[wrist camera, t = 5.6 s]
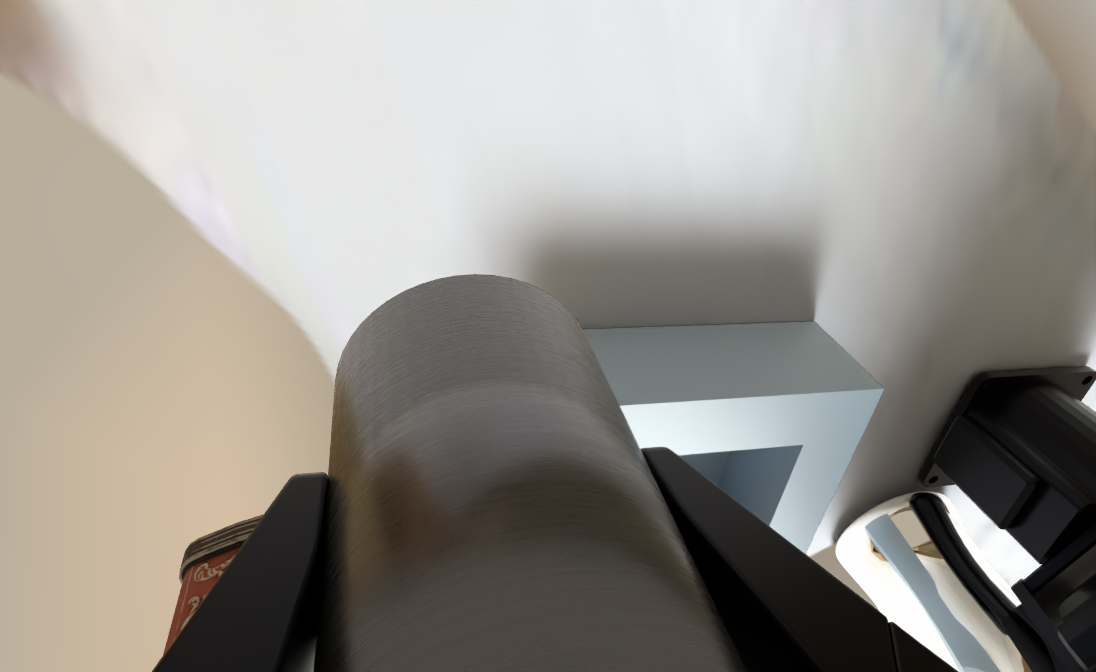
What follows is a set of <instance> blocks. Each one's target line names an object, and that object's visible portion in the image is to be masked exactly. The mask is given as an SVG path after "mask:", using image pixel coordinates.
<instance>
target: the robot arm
mask: <svg viewBox="0 0 1096 672" xmlns="http://www.w3.org/2000/svg"><path fill="white" fill-rule="evenodd" d="M1095 380H1096V371H1094V370H1093V369H1091V368H1090V367H1088V366H1077V367H1060V368H1044V369H1027V370H1010V371H994V372H983V373H981V374H979V375H977V376H976V377H975V378H974V379H973V380H972V381H971V383H970V384H969V386H968V388H967V390H966V392H965V393H964V395H963V397H962V399H961V400H960V402H959V404H958V406H957V408H956V409H955V411H954V413H953V415H952V416H951V418H950V420H949V422H948V424H947V425H946V427H945V429H944V431H943V432H942V434H941V436H940V438H939V440H938V441H937V443H936V445H935V447H934V448H933V450H932V452H931V454H930V455H929V457H928V459H927V461H926V463H925V464H924V466H923V468H922V470H921V471H920V473H919V475H918V480H919V481H920V482H921V483H922V484H923V485H924V486H925V487H937V486H946V485H955V484H956V485H957V486H958V487H959V488H960V489H961V490H962V491H963V492H964V493H965V494H966V495H967V496H968V497H969V498H970V499H971V500H972V501H973V502H974V503H975V504H976V505H977V506H978V507H979V508H980V509H981V510H982V512H983V513H984V514H985V515H986V516H987V517H988V518H989V519H990V520H991V521H992V522H993V523H994V524H995V525H996V526H997V527H999V528H1000V529H1005V530H1006V531H1007V532H1008V533H1009V534H1010V535H1011V536H1012V537H1013V538H1014V539H1015V540H1016V541H1017V542H1018V543H1019V544H1020V545H1021V546H1022V547H1023V548H1024V549H1025V550H1026V551H1027V552H1028V553H1029V554H1030V555H1031V556H1032V557H1033V558H1034V559H1035V560H1036V561H1037V562H1038V563H1039V564H1042V565H1041V566H1040V567H1039V568H1038V569H1036V570H1035V571H1034V572H1033V573H1032V574H1030V575H1029V576H1028V577H1027V578H1025V579H1024V580H1023V579H1020V580H1019V581H1018V582H1016V583H1015V584H1014V585H1013V586H1012V587H1011V589H1012V591H1013V592H1014V594H1015V595H1016V596H1017V598H1018V599H1019V601H1020V602H1021V603H1022V608H1023V610H1024V611H1025V612H1026V614H1027V615H1028V617H1029V618H1030V619H1031V621H1032V622H1033V623H1034V625H1035V626H1036V628H1037V629H1038V630H1039V632H1040V633H1041V635H1042V636H1043V637H1044V639H1045V640H1046V641H1047V643H1048V644H1049V646H1050V647H1051V648H1052V650H1053V651H1054V652H1055V654H1056V655H1057V657H1058V658H1059V659H1060V661H1061V662H1062V663H1063V665H1064V666H1065V668H1066V669H1067V670H1068V672H1096V412H1095V411H1094V410H1092V409H1091V408H1089V407H1088V406H1087V405H1085V404H1084V403H1082V402H1081V400H1082V399H1083V398H1084V396H1085V395H1086V393H1087V392H1088V390H1089V389H1090V387H1091V386H1092V385H1093V383H1094V382H1095ZM641 451H642V453H643V456H644V458H645V460H646V462H647V464H648V466H649V468H650V470H651V472H652V474H653V476H654V478H655V481H656V483H657V485H658V487H659V489H660V491H661V493H662V495H663V497H664V499H665V501H666V503H667V506H668V508H669V510H670V512H671V514H672V516H673V518H674V520H675V522H676V524H677V526H678V529H679V531H680V533H681V535H682V537H683V539H684V541H685V543H686V545H687V547H688V549H689V551H690V554H691V556H692V558H693V560H694V562H695V564H696V566H697V568H698V570H699V572H700V574H701V576H702V579H703V581H704V583H705V585H706V587H707V589H708V591H709V593H710V595H711V597H712V599H713V601H714V604H715V606H716V608H717V610H718V612H719V614H720V616H721V618H722V620H723V622H724V624H725V626H726V629H727V631H728V633H729V635H730V637H731V639H732V641H733V643H734V645H735V647H736V649H737V652H738V654H739V656H740V658H741V660H742V662H743V664H744V666H745V668H746V670H747V672H959V671H957V670H956V669H955V668H953V667H952V666H951V665H949V664H948V663H947V662H945V661H944V660H943V659H941V658H940V657H939V656H937V655H936V654H935V653H933V652H932V651H930V650H929V649H928V648H926V647H925V646H924V645H922V644H921V643H920V642H919V641H917V640H916V639H915V638H913V637H912V636H911V635H910V634H908V633H907V632H906V631H904V630H903V629H902V628H900V627H899V626H898V625H897V624H895V623H894V622H889V623H888V619H887V617H886V616H885V615H883V614H882V613H881V612H880V611H878V610H877V609H875V608H874V607H873V606H872V605H871V604H869V603H868V602H867V601H865V600H864V599H863V598H861V597H860V596H859V595H858V594H856V593H855V592H854V591H852V590H851V589H850V588H849V587H847V586H846V585H844V584H843V583H842V582H841V581H840V580H838V579H837V578H836V577H834V576H833V575H832V574H830V573H829V572H828V571H827V570H825V569H824V568H823V567H821V566H820V565H819V564H818V563H816V562H815V561H814V560H812V559H811V558H810V557H809V556H807V555H806V554H805V553H803V552H802V551H801V550H800V549H798V548H797V547H796V546H794V545H793V544H792V543H791V542H789V541H788V540H787V539H785V538H784V537H783V536H782V535H780V534H779V533H778V532H776V531H775V530H774V529H772V528H771V527H770V526H769V525H767V524H766V523H765V522H763V521H762V520H761V519H760V518H758V517H757V516H756V515H754V514H753V513H752V512H751V511H749V510H748V509H747V508H745V507H744V506H743V505H742V504H740V503H739V502H738V501H736V500H735V499H734V498H733V497H731V496H730V495H729V494H727V493H726V492H725V491H723V490H722V489H721V488H720V487H718V486H717V485H716V484H714V483H713V482H712V481H711V480H709V479H708V478H707V477H705V476H704V475H703V474H702V473H700V472H699V471H698V470H696V469H695V468H694V467H693V466H691V465H690V464H689V463H687V462H686V461H685V460H684V459H682V458H681V457H680V456H678V455H677V454H676V453H674V452H673V451H672V450H670V449H669V448H667V447H650V448H641ZM328 482H329V477H328V475H327V474H326V473H324V472H320V473H307V474H296V475H294V476H292V477H291V478H290V479H289V480H288V482H287V483H286V484H285V486H284V487H283V489H282V490H281V491H280V493H279V494H278V496H277V497H276V499H275V500H274V501H273V503H272V504H271V505H270V507H269V508H268V510H267V511H266V512H265V514H264V515H263V517H262V518H261V519H260V521H259V522H258V524H257V525H256V526H255V528H254V529H253V531H252V532H251V533H250V535H249V536H248V538H247V539H246V540H245V542H244V543H243V545H242V546H241V547H240V549H239V550H238V552H237V553H236V554H235V556H234V557H233V559H232V560H231V561H230V563H229V564H228V566H227V567H226V568H225V570H224V571H223V573H222V574H221V575H220V577H219V578H218V580H217V581H216V582H215V584H214V585H213V587H212V588H211V589H210V591H209V592H208V594H207V595H206V596H205V598H204V599H203V601H202V602H201V603H200V605H199V606H198V608H197V609H196V610H195V612H194V613H193V615H192V616H191V617H190V619H189V620H188V622H187V623H186V624H185V626H184V627H183V629H182V630H181V631H180V633H179V634H178V636H177V637H176V638H175V640H174V641H173V643H172V644H171V645H170V647H169V648H168V650H167V651H166V652H165V654H164V655H163V657H162V658H161V659H160V661H159V662H158V664H157V665H156V667H155V668H154V669H153V671H152V672H313V670H314V657H315V644H316V631H317V617H318V604H319V593H320V584H321V574H322V563H323V550H324V536H325V523H326V509H327V496H328Z"/></svg>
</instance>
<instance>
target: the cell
mask: <svg viewBox="0 0 1096 672" xmlns="http://www.w3.org/2000/svg"><path fill="white" fill-rule="evenodd" d="M328 477H329V482H328V496H327V509H326V523H325V536H324V550H323V563H322V574H321V584H320V593H319V604H318V617H317V631H316V644H315V657H314V670H313V672H747V670H746V668H745V666H744V664H743V662H742V660H741V658H740V656H739V654H738V652H737V649H736V647H735V645H734V643H733V641H732V639H731V637H730V635H729V633H728V631H727V629H726V626H725V624H724V622H723V620H722V618H721V616H720V614H719V612H718V610H717V608H716V606H715V604H714V601H713V599H712V597H711V595H710V593H709V591H708V589H707V587H706V585H705V583H704V581H703V579H702V576H701V574H700V572H699V570H698V568H697V566H696V564H695V562H694V560H693V558H692V556H691V554H690V551H689V549H688V547H687V545H686V543H685V541H684V539H683V537H682V535H681V533H680V531H679V529H678V526H677V524H676V522H675V520H674V518H673V516H672V514H671V512H670V510H669V508H668V506H667V503H666V501H665V499H664V497H663V495H662V493H661V491H660V489H659V487H658V485H657V483H656V481H655V478H654V476H653V474H652V472H651V470H650V468H649V466H648V464H647V462H646V460H645V458H644V456H643V453H642V451H641V449H640V447H639V445H638V443H637V441H636V439H635V437H634V435H633V433H632V431H631V428H630V426H629V424H628V422H627V420H626V418H625V416H624V414H623V412H622V410H621V408H620V405H619V403H618V401H617V399H616V397H615V395H614V393H613V391H612V389H611V387H610V385H609V383H608V380H607V378H606V376H605V374H604V372H603V370H602V368H601V366H600V364H599V362H598V360H597V358H596V355H595V353H594V351H593V349H592V347H591V345H590V343H589V341H588V339H587V337H586V335H585V333H584V331H583V329H582V327H581V326H580V324H579V322H578V321H577V319H576V318H575V317H574V316H573V314H572V313H571V312H570V311H569V310H568V309H567V308H566V307H565V306H564V305H563V304H562V303H560V302H559V301H558V300H557V299H556V298H554V297H553V296H551V295H549V294H548V293H546V292H545V291H543V290H541V289H539V288H537V287H534V286H532V285H530V284H528V283H525V282H521V281H518V280H515V279H512V278H506V277H500V276H495V275H477V274H474V275H458V276H452V277H446V278H441V279H436V280H433V281H430V282H426V283H423V284H420V285H417V286H415V287H413V288H411V289H408V290H406V291H404V292H402V293H400V294H398V295H397V296H395V297H393V298H391V299H390V300H388V301H386V302H385V303H384V304H383V305H381V306H380V307H379V308H377V309H376V310H375V311H373V312H372V313H371V314H370V315H369V316H368V317H367V318H366V319H365V320H364V321H363V322H362V323H361V324H360V326H359V327H358V328H357V330H356V331H355V332H354V334H353V335H352V336H351V338H350V339H349V341H348V343H347V345H346V347H345V349H344V350H343V353H342V356H341V358H340V361H339V364H338V368H337V374H336V380H335V392H334V405H333V419H332V432H331V446H330V460H329V472H328Z"/></svg>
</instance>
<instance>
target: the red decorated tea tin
mask: <svg viewBox="0 0 1096 672" xmlns="http://www.w3.org/2000/svg"><path fill="white" fill-rule="evenodd" d="M262 517H263V515H261V516H258V517H254V518H251V519H248V520H244V521H241V522H238V523H235V524H233V525H230V526H228V527H225V528H223V529H221V530H218V531H216V532H213V533H211V534H208V535H206V536H203V537H201V538H198V539H197V540H195V541H194V542H192V543H191V544H190V545H189V546H188V548H187V549H186V551H185V554H184V558H183V561H182V565H181V569H180V575H179V579H180V582H181V584H182V587H181V590H180V594H179V598H178V602H177V605H176V609H175V613H174V617H173V620H172V624H171V628H170V632H169V636H168V640H167V643H166V647H165V651H164V654H165V652H166V651H167V650H168V648H169V647H170V645H171V644H172V643H173V641H174V640H175V638H176V637H177V636H178V634H179V633H180V631H181V630H182V629H183V627H184V626H185V624H186V623H187V622H188V620H189V619H190V617H191V616H192V615H193V613H194V612H195V610H196V609H197V608H198V606H199V605H200V603H201V602H202V601H203V599H204V598H205V596H206V595H207V594H208V592H209V591H210V589H211V588H212V587H213V585H214V584H215V582H216V581H217V580H218V578H219V577H220V575H221V574H222V573H223V571H224V570H225V568H226V567H227V566H228V564H229V563H230V561H231V560H232V559H233V557H234V556H235V554H236V553H237V552H238V550H239V549H240V547H241V546H242V545H243V543H244V542H245V540H246V539H247V538H248V536H249V535H250V533H251V532H252V531H253V529H254V528H255V526H256V525H257V524H258V522H259V521H260V519H261V518H262ZM164 654H163V655H164Z"/></svg>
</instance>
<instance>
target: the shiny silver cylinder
mask: <svg viewBox="0 0 1096 672" xmlns="http://www.w3.org/2000/svg"><path fill="white" fill-rule="evenodd" d="M835 552H836V556H837V558H838V560H839V561H840V563H841V564H842V566H843V567H844V568H845V569H846V570H847V571H848V573H849V574H850V575H851V576H852V577H853V578H854V579H855V581H856V582H857V583H858V584H859V585H860V586H861V587H862V589H863V590H864V591H865V592H866V593H867V595H868V596H869V597H870V598H871V600H872V601H873V602H874V603H875V605H876V606H877V607H878V609H879V611H880V612H881V613H882V614H883V615H885V616H886V617H887V619H888V623H889V622H894V623H895V624H897V625H898V626H899V627H900V628H902V629H903V630H904V631H906V632H907V633H908V634H910V635H911V636H912V637H913V638H915V639H916V640H917V641H919V642H920V643H921V644H922V645H924V646H925V647H926V648H928V649H929V650H930V651H932V652H933V653H935V654H936V655H937V656H939V657H940V658H941V659H943V660H944V661H945V662H947V663H948V664H949V665H951V666H952V667H953V668H955V669H956V670H957V671H959V672H1068V670H1067V669H1066V668H1065V666H1064V665H1063V663H1062V662H1061V661H1060V659H1059V658H1058V657H1057V655H1056V654H1055V652H1054V651H1053V650H1052V648H1051V647H1050V646H1049V644H1048V643H1047V641H1046V640H1045V639H1044V637H1043V636H1042V635H1041V633H1040V632H1039V630H1038V629H1037V628H1036V626H1035V625H1034V623H1033V622H1032V621H1031V619H1030V618H1029V617H1028V615H1027V614H1026V612H1025V611H1024V610H1023V608H1022V603H1021V602H1020V601H1019V599H1018V598H1017V596H1016V595H1015V594H1014V592H1013V591H1012V589H1011V587H1010V586H1009V585H1008V584H1007V583H1006V582H1005V581H1004V580H1003V579H1002V578H1001V576H1000V575H999V574H998V573H997V572H996V571H995V570H994V569H993V568H992V566H991V565H990V564H989V563H988V561H987V560H986V559H985V557H984V556H983V555H982V553H981V552H980V550H979V549H978V547H977V546H976V544H975V543H974V541H973V539H972V538H971V536H970V534H969V532H968V530H967V529H966V527H965V525H964V523H963V521H962V519H961V517H960V516H959V514H958V512H957V510H956V509H955V507H954V505H953V504H952V502H951V501H950V500H949V499H948V498H947V497H946V496H945V495H943V494H941V493H938V492H932V491H921V492H913V493H909V494H905V495H901V496H898V497H895V498H893V499H890V500H888V501H886V502H883V503H881V504H879V505H877V506H875V507H874V508H872V509H870V510H869V511H867V512H865V513H864V514H862V515H861V516H860V517H858V518H857V519H856V520H855V521H853V522H852V523H851V524H850V525H849V526H848V527H847V528H846V529H845V530H844V532H843V533H842V534H841V536H840V537H839V539H838V541H837V544H836V549H835Z"/></svg>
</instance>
